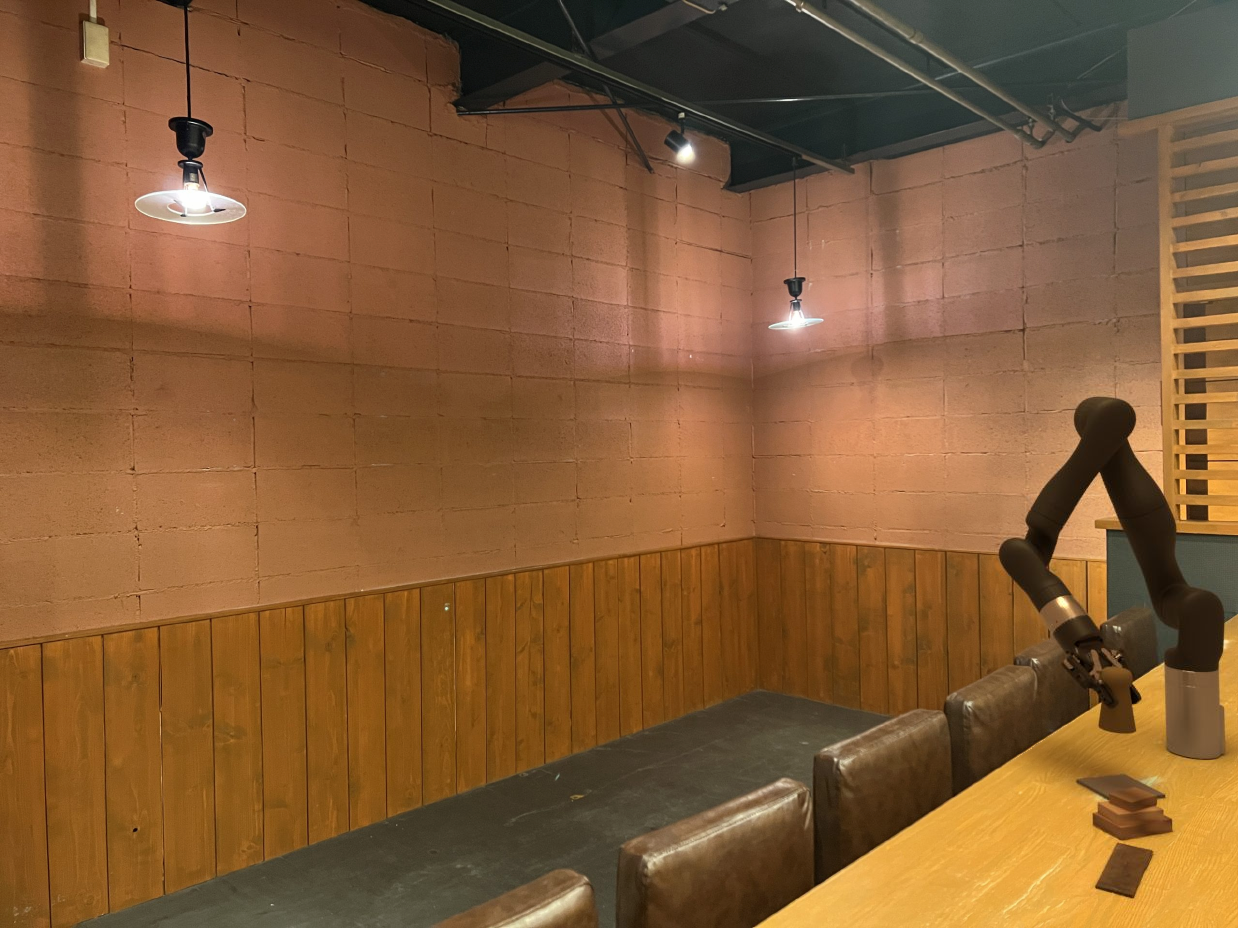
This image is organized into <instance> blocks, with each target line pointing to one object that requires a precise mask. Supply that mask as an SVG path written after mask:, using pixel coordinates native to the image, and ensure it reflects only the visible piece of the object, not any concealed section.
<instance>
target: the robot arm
mask: <svg viewBox="0 0 1238 928" xmlns="http://www.w3.org/2000/svg"><path fill="white" fill-rule="evenodd" d="M1136 424H1137V414H1136V411H1135V408H1133V406H1132V404H1130V403H1129V402H1128V401H1126V400H1124V399H1122V398H1117V397H1111V396H1092V397H1088V398H1085V399H1084V400H1082V401H1081V402H1080V403H1079V404H1078V405H1077V406H1076V408H1075V410H1074V414H1073V425H1074V428H1075V430H1076V432H1077V434H1078V435H1079V438H1080V439H1079V442H1078V444H1077V446H1076V447H1075V449H1074V451H1073V452H1072V454H1071V455H1070V457H1069V458H1068V459H1067V461H1066V462H1065V463H1064V464H1063V465H1062V466H1061V468H1060V469H1058V470H1057V472H1055V474H1054V475H1053V476H1051V478H1050V479H1049V480H1048V482H1046V484H1045V485H1044V486H1043V488H1042V489H1041V491H1040V492H1039V494H1038V495H1037V497H1036V498H1035V500H1034V502H1033V504H1032V505H1031V507H1030V509H1029V510H1028V512H1027V514H1026V516H1025V518H1024V519H1025V520H1024V521H1025V525H1026V526H1027V527H1028V529H1027V532H1026V534H1025V537H1024V538H1022V537H1010V538H1007V539H1006V540H1004V541H1003V542H1002V543H1001V545H1000V546H999V550H998V559H999V562H1000V565H1001V566H1002V567H1003V569H1004V570H1005V572H1006V573H1007V574H1008V575H1009V577H1010V578H1011V579H1012V581H1014V582H1015V584H1017V585H1018V586H1019V588H1020V589H1021V590H1022V591H1024V593H1025V594H1026V595H1027V597H1029V600H1030V602H1031V603H1032V604H1033V606H1034V607H1035V609H1036V611H1037V612H1038V613H1039V615H1040V617H1041V618H1042V620H1043V622H1044V625H1045V627H1046V628H1047V629H1048V630H1049V632H1050V633H1051V635H1052V636H1053V638H1054V639H1055V641H1056V642H1057V644H1058V645H1059V647H1060V648H1061V650H1062V651H1063V653H1065V655H1066V656H1067V655H1068V656H1067V657H1066V658H1065V659H1064V660H1063V661H1062V662H1061V664H1060V665H1061V666H1062V668H1064V670H1066V672H1067V673H1068V674H1069V675H1070V676H1071V677H1072V678H1073V679H1074V680H1075V681H1076V683H1078V685H1079V686H1080V687H1081V688H1082V689H1083V690H1088V689H1090V690H1092V691H1094V692H1095V693H1096V694H1097V696H1098V697H1099V699H1100V700H1101V702H1102V701H1103V703H1104V704H1105V705H1106V706H1107V707H1108V708H1114V707H1115V706H1116V705H1118V703H1119V702H1118V700H1117V698H1116V697H1115V696H1114V694H1113V693H1112V691H1111V690H1110V688H1109V687H1108V685H1104V684H1105V682H1104V680H1103V678H1102V675H1101V673H1102V669H1103V668H1106V667H1121V668H1125V669H1127V670H1129V671H1130V672H1131V674H1132V677H1133V679H1134V678H1135V677H1136V676H1137V672H1136V670H1135V668H1134V666H1133V664H1132V662H1131V660H1130V658H1129V656H1128V654H1127V652H1126V650H1125V649H1124V648H1122V647H1121V648H1119V649H1117V650H1114V649H1111V648H1110V647H1109V646H1108V645H1107V644H1105V643H1104V640H1103V639H1104V638H1103V637H1104V635H1103V633H1102V632H1101V630H1100V629H1099V627H1098V626H1097V625H1096V623H1095V622H1094V620H1093V619H1092V617H1091V616H1090V615H1089V614H1088V611H1086V609H1085V608H1084V607H1083V605H1082V604H1081V603H1080V602H1079V601H1078V600H1077V599H1076V598H1075V596H1074V595H1073V594H1072V593H1071V591H1070V589H1069V588H1068V587H1067V585H1066V584H1065V583H1064V582H1063V581H1062V579H1061V578H1060V577H1059V576H1058V575H1056V574H1055V573H1053V571H1050V570H1049V569H1048V566H1049V564H1050V563H1051V561H1052V559H1053V555H1054V553H1055V550H1056V547H1057V544H1058V540H1059V536H1060V533H1062V532H1061V531H1062V530H1063V529H1064V527H1065V526H1066V524H1067V522H1068V520H1069V519H1070V517H1071V515H1072V514H1073V512H1074V511H1075V509H1076V507H1077V505H1078V504H1079V502H1080V501H1081V499H1082V498H1083V496H1084V494H1085V493H1086V491H1087V489H1089V487H1090V486H1091V484H1092V482H1093V481H1094V480H1095V478H1096V477H1098V475H1099V474H1100V477H1101V480H1102V482H1103V485H1104V488H1105V491H1106V492H1107V494H1108V498H1109V499H1110V502H1111V504H1112V506H1113V509H1114V511H1115V515H1116V517H1117V520H1118V522H1119V524H1120V526H1121V528H1122V530H1123V533H1124V534H1125V536H1126V538H1127V540H1128V542H1129V545H1130V548H1131V549H1132V552H1133V554H1134V556H1135V559H1136V561H1137V564H1138V566H1139V567H1140V571H1141V574H1142V576H1143V578H1144V582H1145V585H1146V588H1147V593H1148V596H1149V598H1150V602H1151V604H1152V607H1153V610H1154V613H1155V615H1156V616H1157V618H1158V619H1159V621H1160V622H1161V623H1163V624H1164V625H1165V626H1167V627H1169V628H1171V629H1173V630H1176V631H1178V632H1177V634H1178V636H1177V644H1176V646H1175V647H1170V648H1167V649H1165V651H1164V654H1163V659H1164V660H1163V663H1164V665H1163V666H1164V667H1163V668H1164V696H1165V697H1164V704H1165V706H1164V707H1165V710H1164V711H1165V739H1166V741H1165V743H1166V744H1165V745H1166V747H1165V748H1166V749H1167V750H1168V751H1169V752H1170V753H1173V754H1175V755H1178V756H1181V757H1187V758H1191V759H1199V760H1200V759H1202V760H1209V759H1210V760H1211V759H1216V758H1219V757H1221V756H1222V755H1225V754H1226V727H1225V726H1226V723H1225V720H1226V718H1225V716H1226V715H1225V707H1224V706H1223V705H1221V702H1220V701H1221V699H1220V660H1221V658H1222V656H1223V653H1224V647H1225V645H1224V644H1225V643H1224V642H1225V623H1226V622H1225V621H1226V620H1225V611H1224V605H1223V602H1222V600H1221V599H1220V598H1219V596H1218V595H1217V594H1215V593H1214V592H1212V591H1209V590H1207V589H1203V588H1199V587H1195V586H1190V585H1189V584H1188V582H1187V580H1186V579H1185V577H1184V575H1183V573H1182V571H1181V569H1180V566H1179V565H1178V562H1177V559H1176V553H1175V552H1176V543H1177V531H1178V530H1177V522H1176V519H1175V516H1174V514H1173V512H1172V510H1171V507H1170V506H1169V502H1168V501H1167V499H1166V497H1165V494H1164V492H1163V491H1162V489H1161V488H1160V486H1159V484H1158V483H1157V482H1156V481H1155V480H1154V478H1153V477H1152V476H1151V474H1150V473H1149V472H1148V471H1147V469H1146V468H1145V467H1144V465H1142V463H1141V462H1140V460H1139V459H1138V457H1137V456H1136V455H1135V453H1134V451H1133V449H1132V446H1131V443H1130V442H1129V439H1128V438H1129V437H1130V436H1131V435H1132V433H1133V432H1134V429H1135V427H1136ZM1081 675H1082V676H1083V678H1084V679H1085V680H1084V679H1083V678H1082V676H1081ZM1129 689H1130V695H1131V701H1132V706H1133V705H1137V704H1139V703H1140V702H1141V701H1142V695H1141V692H1139V690H1138V689H1137V687H1136V686H1135V685H1134V684H1133V683H1132V685H1131V686H1130V687H1129Z"/></svg>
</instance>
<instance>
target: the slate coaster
mask: <svg viewBox="0 0 1238 928" xmlns="http://www.w3.org/2000/svg"><path fill="white" fill-rule="evenodd" d="M1075 781H1076V783H1077V784H1079V785H1081V786H1082V787H1084V788H1086V789H1088V790H1090V791H1091V792H1093V793H1095V794H1097V795H1099V796H1100V797H1103V798H1104V799H1106V800H1107V801H1109V794H1110V793H1113V792H1117V791H1121V790H1125V789H1129V788H1133V787H1136V788H1139V789H1141V790H1144V791H1146V792H1149V793H1152V794H1154V795H1157V800H1159V799H1166V793H1164V792H1161V791H1159V790H1158V789H1155V788H1153V787H1152V786H1149V785H1148V784H1145V782H1142V781H1139V780H1138V779H1135V778H1133V777H1131V776H1130V775H1128V774H1127V773H1126V774H1125V773H1121V774H1120V773H1118V774H1112V775H1109V774H1108V775H1103V776H1102V775H1101V776H1092V777H1084V778H1076V780H1075Z"/></svg>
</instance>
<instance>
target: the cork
mask: <svg viewBox="0 0 1238 928" xmlns="http://www.w3.org/2000/svg"><path fill="white" fill-rule="evenodd" d="M1101 675H1102V678H1103V680H1104V682H1105V684H1104V685H1108V687H1109V688H1110V690H1111V691H1112V693H1113V694H1114V696H1115V697H1116V698H1117V700H1118V702H1119V703H1118V705H1116V706H1115V707H1114V708H1108V707H1107V706H1106V705H1105V704H1104V703H1103V701H1102V700H1101V702H1100V703H1101V704H1100V711H1099V717H1098V725H1097V726H1098V728H1099V729H1101V730H1102V731H1106V732H1109V733H1114V734H1121V735H1122V734H1125V735H1126V734H1133V733H1136V732H1137V729H1136V728H1137V726H1136V722H1135V715H1134V708H1133V705H1132V701H1131V695H1130V689H1129V687H1130V686H1131V685H1132V683H1133V682H1134V678H1133V677H1132V674H1131V672H1130V671H1129V670H1127V669H1125V668H1121V667H1113V666H1112V667H1106V668H1103V669H1102V673H1101Z"/></svg>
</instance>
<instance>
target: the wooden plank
mask: <svg viewBox="0 0 1238 928" xmlns="http://www.w3.org/2000/svg"><path fill="white" fill-rule="evenodd" d="M1153 854H1154V850H1153V849H1150V848H1144V847H1139V846H1135V845H1130V844H1127V843H1122V842H1116V844H1115V847H1114V848H1113V850H1112V852H1111V853H1110V856H1109V858H1108V860H1107V861H1106V864H1105V866H1104V868H1103V870H1102V872H1101V874H1100V876H1099V878H1098V880H1097V881H1096V883H1095V887H1094V888H1095V889H1098V890H1101V891H1104V892H1108V893H1111V894H1112V893H1113V894H1115V895H1120V896H1123V897H1126V898H1130V899H1133V898H1134V897H1135V894H1136V893H1137V890H1138V887H1139V885H1140V882H1141V880H1142V877H1143V876H1144V873H1145V871H1146V869H1147V867H1148V865H1149V863H1150V860H1151V858H1152V856H1153Z"/></svg>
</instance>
